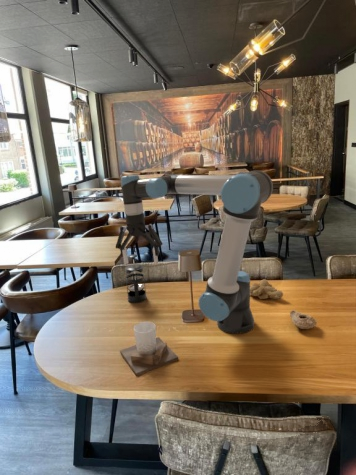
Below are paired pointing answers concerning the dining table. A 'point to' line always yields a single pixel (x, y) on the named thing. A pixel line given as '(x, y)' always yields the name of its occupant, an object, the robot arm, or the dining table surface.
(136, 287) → the french press
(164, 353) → the brown flat square slab
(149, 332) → the white cup
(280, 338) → the dining table surface
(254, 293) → the ginger root
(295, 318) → the pottery oil lamp
